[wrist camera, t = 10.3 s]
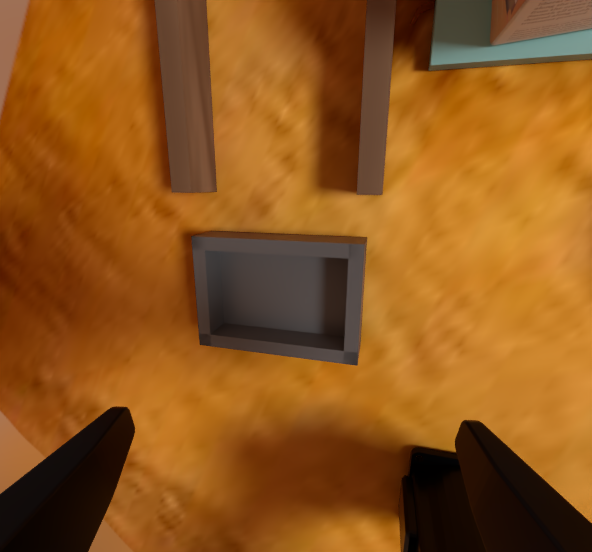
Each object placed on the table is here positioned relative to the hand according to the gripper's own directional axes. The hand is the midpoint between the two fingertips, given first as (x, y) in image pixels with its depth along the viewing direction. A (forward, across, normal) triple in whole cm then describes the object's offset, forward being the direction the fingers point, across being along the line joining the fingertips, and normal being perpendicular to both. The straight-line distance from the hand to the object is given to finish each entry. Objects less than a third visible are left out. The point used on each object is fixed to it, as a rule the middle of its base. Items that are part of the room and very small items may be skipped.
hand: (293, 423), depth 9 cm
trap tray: (+13, +1, +3) cm, 13 cm away
